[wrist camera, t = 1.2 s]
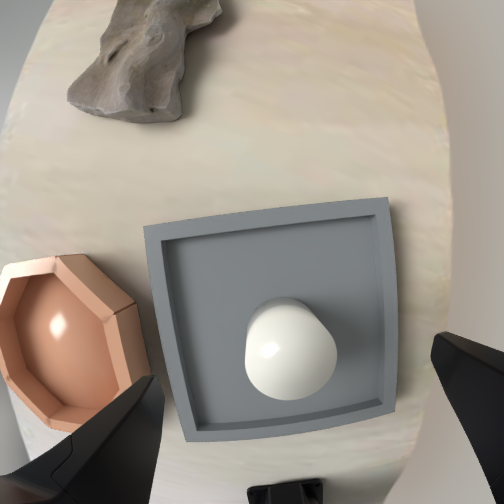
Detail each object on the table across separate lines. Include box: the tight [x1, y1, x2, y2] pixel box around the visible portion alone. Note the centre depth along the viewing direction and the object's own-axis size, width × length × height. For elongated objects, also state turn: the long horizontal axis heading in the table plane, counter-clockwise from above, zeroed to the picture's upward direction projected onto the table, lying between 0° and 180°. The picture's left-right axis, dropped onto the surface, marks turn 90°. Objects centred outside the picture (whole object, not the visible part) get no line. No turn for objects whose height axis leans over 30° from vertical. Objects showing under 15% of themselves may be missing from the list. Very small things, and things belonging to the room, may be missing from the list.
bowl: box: [0, 254, 151, 433], centre depth 18 cm, size 13×13×4 cm
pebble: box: [245, 297, 337, 400], centre depth 16 cm, size 4×4×5 cm
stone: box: [67, 0, 223, 123], centre depth 17 cm, size 15×10×4 cm, turn 165°
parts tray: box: [143, 197, 398, 442], centre depth 19 cm, size 15×15×2 cm
